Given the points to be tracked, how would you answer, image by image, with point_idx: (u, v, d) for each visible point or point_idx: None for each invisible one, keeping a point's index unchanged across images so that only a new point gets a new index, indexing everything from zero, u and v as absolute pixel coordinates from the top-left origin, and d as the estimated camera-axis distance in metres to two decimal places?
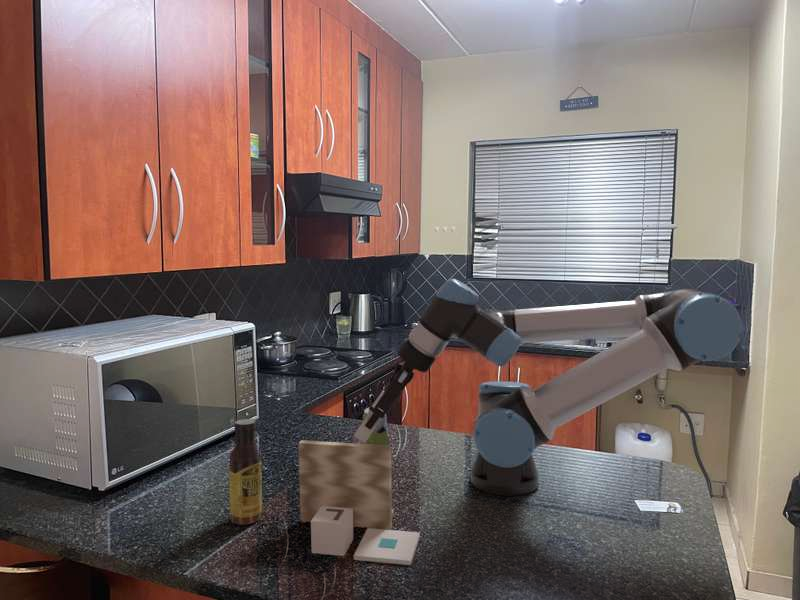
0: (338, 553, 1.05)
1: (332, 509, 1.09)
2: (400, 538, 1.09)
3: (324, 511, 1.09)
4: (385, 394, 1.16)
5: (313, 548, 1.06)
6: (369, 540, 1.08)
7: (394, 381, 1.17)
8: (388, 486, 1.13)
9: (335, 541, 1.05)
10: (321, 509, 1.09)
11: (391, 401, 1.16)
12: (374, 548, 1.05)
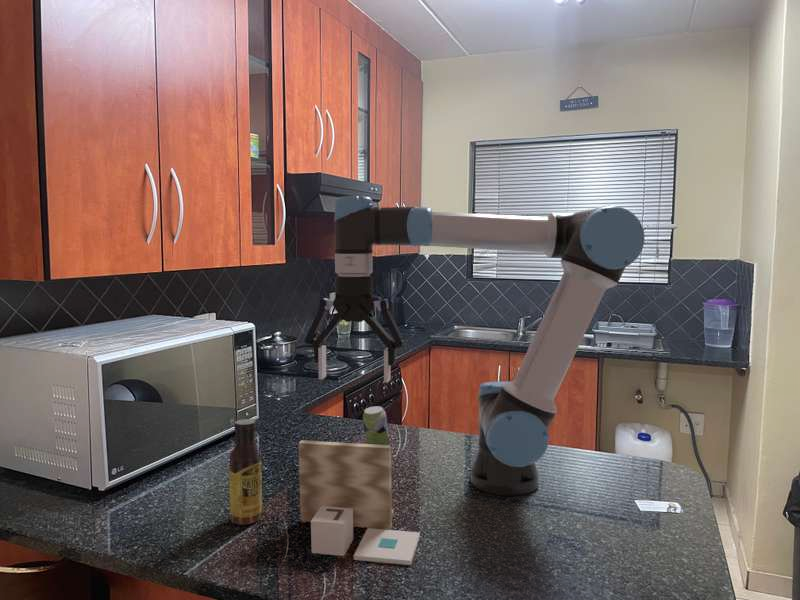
0: (338, 553, 1.05)
1: (332, 509, 1.09)
2: (400, 538, 1.09)
3: (324, 511, 1.09)
4: (394, 326, 1.18)
5: (313, 548, 1.06)
6: (369, 540, 1.08)
7: (387, 312, 1.18)
8: (388, 486, 1.13)
9: (335, 541, 1.05)
10: (321, 509, 1.09)
11: (397, 327, 1.19)
12: (374, 548, 1.05)
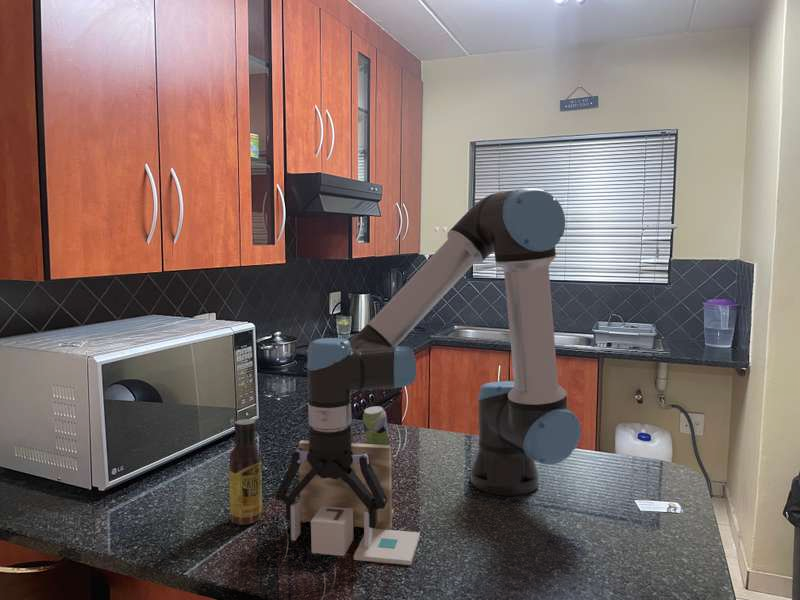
0: (338, 553, 1.05)
1: (332, 509, 1.09)
2: (400, 538, 1.09)
3: (324, 511, 1.09)
4: (376, 485, 1.04)
5: (313, 548, 1.06)
6: None
7: (368, 469, 1.04)
8: (388, 486, 1.13)
9: (335, 541, 1.05)
10: (321, 509, 1.09)
11: (379, 483, 1.06)
12: (374, 548, 1.05)
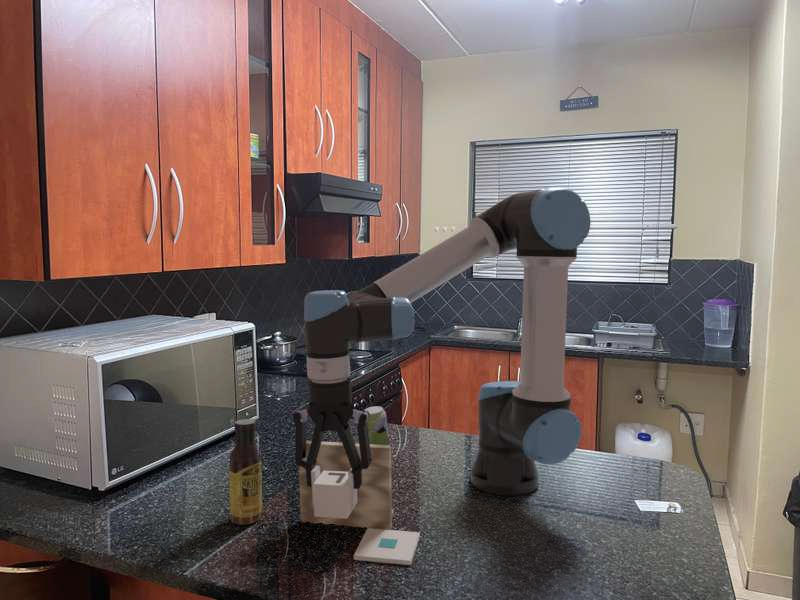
0: (341, 515, 1.04)
1: (334, 473, 1.09)
2: (400, 538, 1.09)
3: (326, 475, 1.08)
4: (366, 445, 1.04)
5: (315, 511, 1.05)
6: (369, 540, 1.08)
7: (364, 428, 1.04)
8: (388, 486, 1.13)
9: (337, 504, 1.04)
10: (323, 473, 1.09)
11: (369, 444, 1.06)
12: (374, 548, 1.05)
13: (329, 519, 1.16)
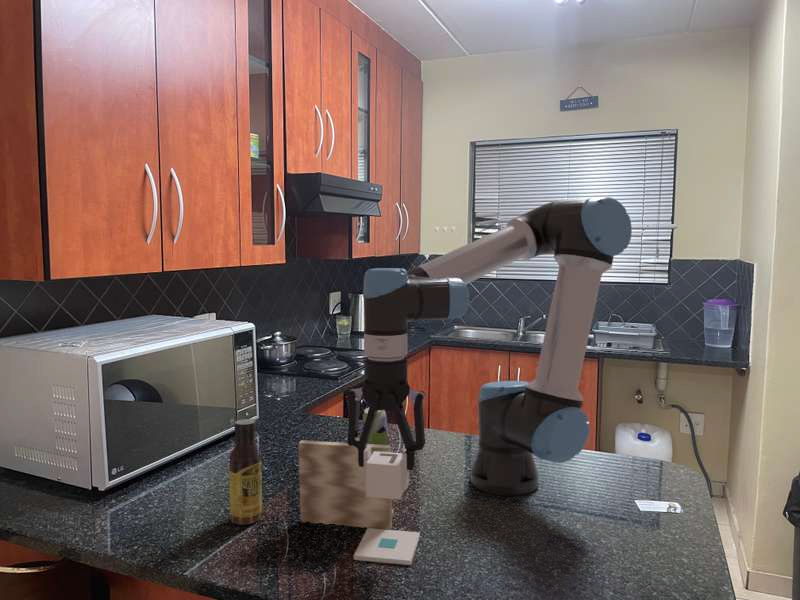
0: (394, 496, 1.03)
1: (386, 454, 1.07)
2: (400, 538, 1.09)
3: (378, 455, 1.07)
4: (422, 426, 1.03)
5: (367, 491, 1.03)
6: (369, 540, 1.08)
7: (420, 408, 1.03)
8: None
9: (391, 484, 1.02)
10: (375, 454, 1.07)
11: (423, 425, 1.04)
12: (374, 548, 1.05)
13: (329, 519, 1.16)
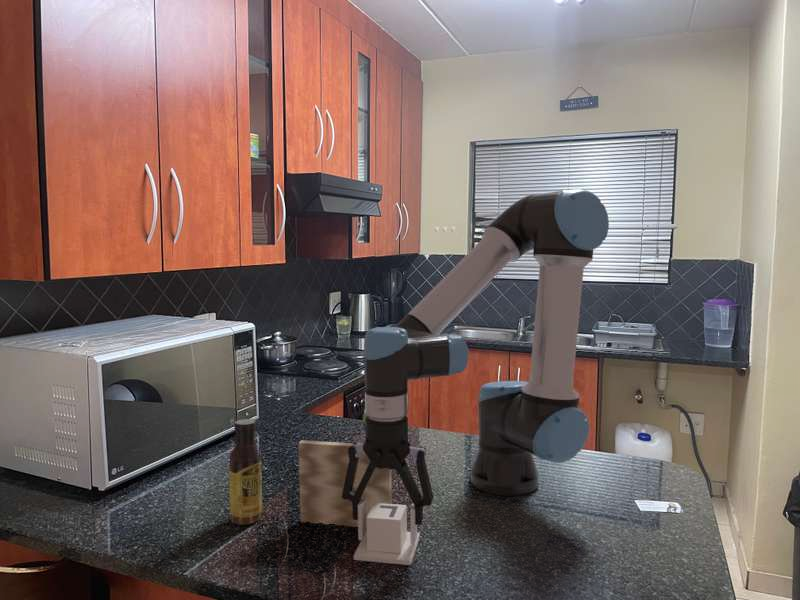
0: (394, 550, 1.04)
1: (386, 506, 1.08)
2: None
3: (378, 507, 1.08)
4: (427, 481, 1.04)
5: (368, 545, 1.04)
6: None
7: (423, 464, 1.03)
8: (388, 486, 1.13)
9: (391, 538, 1.03)
10: (375, 506, 1.08)
11: (429, 480, 1.05)
12: None
13: (329, 519, 1.16)
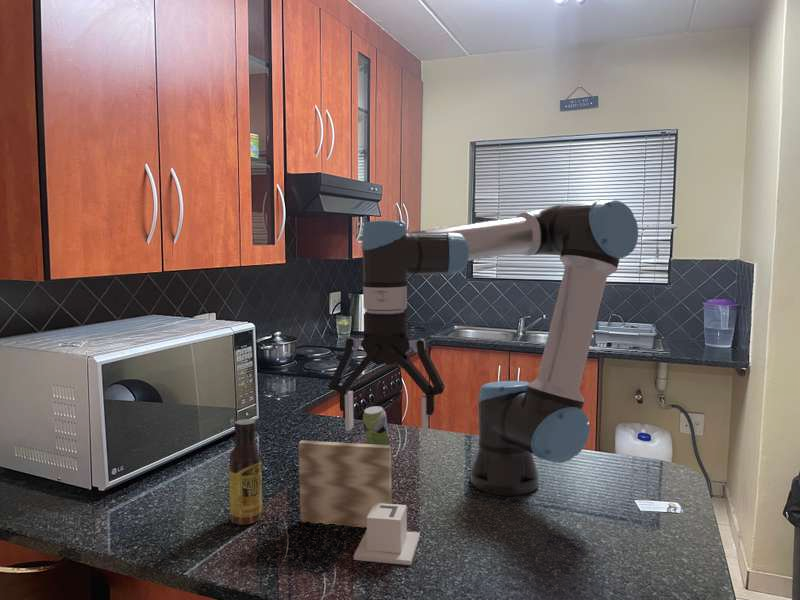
0: (394, 550, 1.04)
1: (386, 506, 1.08)
2: None
3: (378, 507, 1.08)
4: (433, 370, 1.02)
5: (368, 545, 1.04)
6: None
7: (425, 353, 1.01)
8: (388, 486, 1.13)
9: (391, 538, 1.03)
10: (375, 506, 1.08)
11: (436, 370, 1.03)
12: None
13: (329, 519, 1.16)
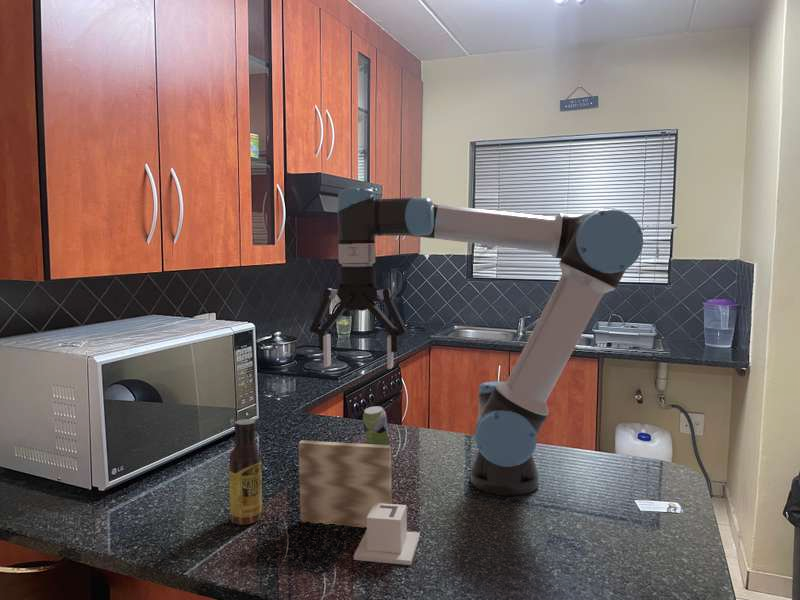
0: (394, 550, 1.04)
1: (386, 506, 1.08)
2: None
3: (378, 507, 1.08)
4: (397, 314, 1.21)
5: (368, 545, 1.04)
6: None
7: (390, 300, 1.21)
8: (388, 486, 1.13)
9: (391, 538, 1.03)
10: (375, 506, 1.08)
11: (399, 315, 1.23)
12: None
13: (329, 519, 1.16)
